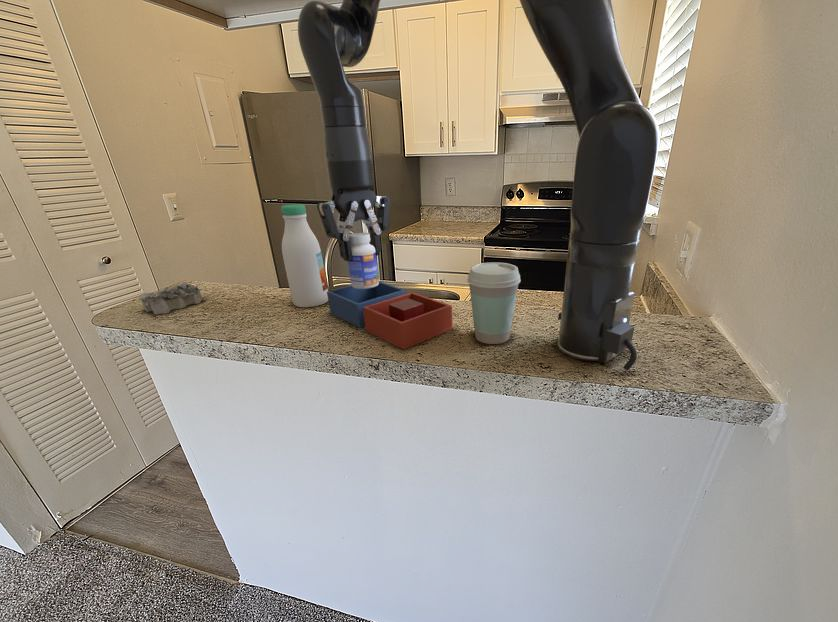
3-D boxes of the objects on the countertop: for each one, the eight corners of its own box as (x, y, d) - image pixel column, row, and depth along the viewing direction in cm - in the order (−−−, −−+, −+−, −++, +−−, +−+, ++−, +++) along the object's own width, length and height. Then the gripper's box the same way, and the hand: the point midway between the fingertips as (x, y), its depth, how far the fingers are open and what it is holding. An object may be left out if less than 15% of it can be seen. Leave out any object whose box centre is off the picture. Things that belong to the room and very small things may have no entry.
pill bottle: (370, 290, 76) (363, 237, 71) (345, 288, 78) (337, 236, 73) (384, 282, 80) (379, 232, 76) (361, 280, 82) (354, 231, 78)
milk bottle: (319, 309, 84) (300, 207, 75) (286, 307, 86) (263, 207, 76) (335, 297, 91) (320, 202, 82) (304, 295, 92) (285, 202, 83)
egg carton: (157, 316, 83) (149, 297, 81) (140, 310, 87) (133, 292, 85) (208, 301, 91) (202, 283, 89) (191, 295, 95) (185, 279, 93)
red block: (425, 326, 73) (423, 303, 71) (405, 334, 70) (403, 310, 68) (409, 320, 76) (408, 298, 74) (390, 327, 73) (388, 304, 71)
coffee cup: (515, 349, 65) (519, 276, 59) (463, 345, 67) (462, 274, 61) (519, 328, 72) (523, 262, 67) (472, 325, 74) (472, 260, 68)
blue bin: (407, 311, 81) (406, 290, 79) (360, 328, 75) (357, 304, 72) (376, 299, 89) (373, 279, 86) (330, 313, 82) (326, 291, 80)
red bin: (452, 329, 73) (451, 305, 71) (403, 349, 66) (401, 323, 64) (413, 314, 80) (411, 291, 78) (365, 330, 73) (362, 307, 71)
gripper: (321, 159, 62) (338, 269, 70) (396, 156, 70) (404, 253, 78) (299, 159, 67) (317, 261, 75) (372, 156, 75) (381, 248, 83)
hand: (362, 257), depth 76 cm, fingers closed on pill bottle, 5 cm apart
